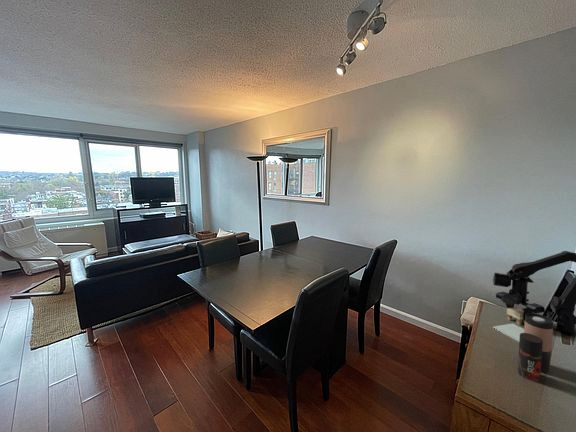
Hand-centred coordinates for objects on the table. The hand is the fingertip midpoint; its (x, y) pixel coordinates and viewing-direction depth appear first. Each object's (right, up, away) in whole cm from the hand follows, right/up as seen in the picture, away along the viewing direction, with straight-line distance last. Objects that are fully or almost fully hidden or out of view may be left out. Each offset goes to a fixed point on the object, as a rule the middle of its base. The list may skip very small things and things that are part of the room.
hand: (517, 317), depth 123 cm
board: (-10, -4, -10) cm, 15 cm away
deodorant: (-30, -7, -34) cm, 46 cm away
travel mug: (-23, -6, -30) cm, 38 cm away
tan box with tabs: (0, -2, 0) cm, 2 cm away
